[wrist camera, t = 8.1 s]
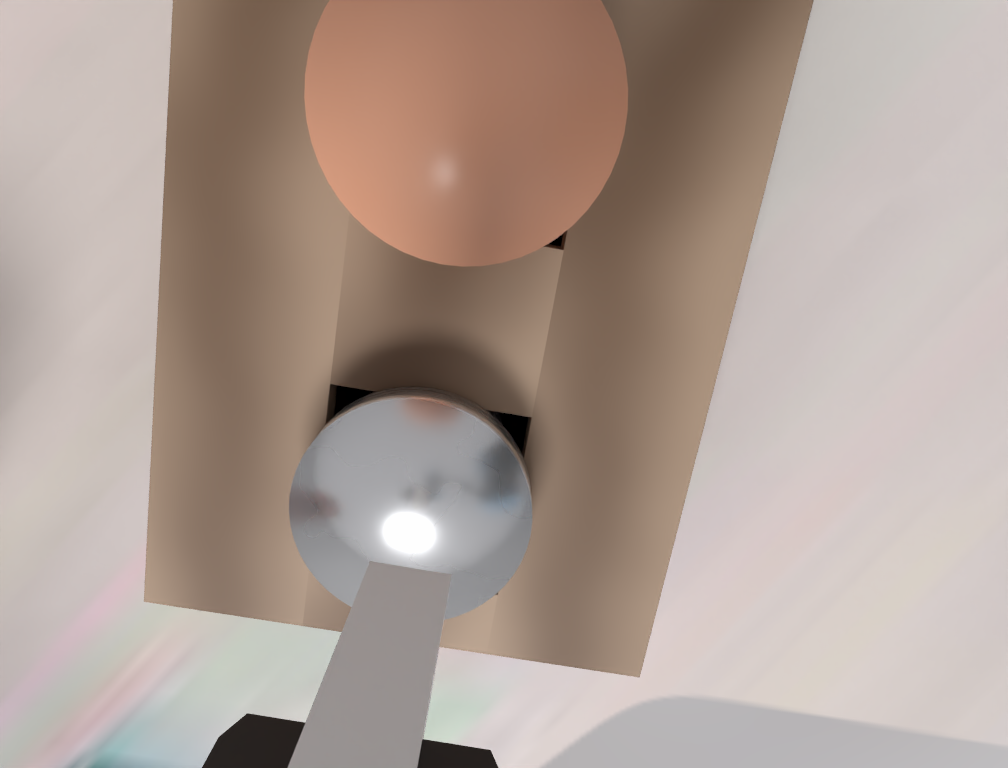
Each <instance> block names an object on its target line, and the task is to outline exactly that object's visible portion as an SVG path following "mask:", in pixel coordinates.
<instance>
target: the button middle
mask: <svg viewBox="0 0 1008 768" xmlns="http://www.w3.org/2000/svg"><path fill="white" fill-rule="evenodd" d="M304 100H305V111H306V121H307V125H308V130H309V134H310V139H311V143H312V146H313V149H314V152H315V154H316V157H317V160H318V163H319V165H320V167H321V169H322V171H323V173H324V175H325V177H326V179H327V181H328V183H329V185H330V186H331V188H332V189H333V191H334V192H335V194H336V195H337V197H338V198H339V200H340V201H341V202H342V203H343V205H344V206H345V207H346V208H347V209H348V211H349V212H350V213H351V214H352V215H353V217H355V218H356V219H357V220H358V221H359V222H360V223H361V224H362V225H363V226H364V227H365V228H366V229H368V230H369V231H370V232H371V233H373V234H374V235H376V236H377V237H378V238H380V239H381V240H383V241H384V242H385V243H387V244H389V245H391V246H393V247H394V248H396V249H398V250H400V251H402V252H404V253H406V254H409V255H412V256H414V257H417V258H419V259H422V260H426V261H430V262H434V263H438V264H442V265H452V266H461V267H466V266H486V265H492V264H498V263H503V262H507V261H510V260H514V259H517V258H520V257H523V256H525V255H527V254H530V253H532V252H534V251H536V250H538V249H540V248H542V247H544V246H545V245H547V244H549V243H550V242H552V241H553V240H555V239H557V238H558V237H559V236H560V235H562V234H563V233H564V232H565V231H567V230H568V229H569V228H570V227H572V226H573V225H574V224H575V223H576V222H577V221H578V220H579V219H580V218H581V216H582V215H583V214H584V213H585V212H586V211H587V210H588V209H589V207H590V206H591V205H592V203H593V202H594V201H595V199H596V198H597V197H598V195H599V194H600V192H601V191H602V189H603V187H604V185H605V183H606V182H607V180H608V178H609V176H610V175H611V172H612V170H613V167H614V165H615V162H616V160H617V157H618V155H619V152H620V148H621V144H622V141H623V137H624V133H625V126H626V119H627V112H628V83H627V73H626V65H625V60H624V56H623V52H622V48H621V43H620V41H619V38H618V35H617V33H616V30H615V27H614V24H613V22H612V20H611V18H610V16H609V14H608V12H607V10H606V8H605V6H604V5H603V3H602V1H601V0H329V2H328V3H327V5H326V7H325V8H324V10H323V13H322V15H321V17H320V20H319V22H318V24H317V26H316V29H315V31H314V35H313V38H312V42H311V45H310V49H309V52H308V59H307V65H306V71H305V90H304Z"/></svg>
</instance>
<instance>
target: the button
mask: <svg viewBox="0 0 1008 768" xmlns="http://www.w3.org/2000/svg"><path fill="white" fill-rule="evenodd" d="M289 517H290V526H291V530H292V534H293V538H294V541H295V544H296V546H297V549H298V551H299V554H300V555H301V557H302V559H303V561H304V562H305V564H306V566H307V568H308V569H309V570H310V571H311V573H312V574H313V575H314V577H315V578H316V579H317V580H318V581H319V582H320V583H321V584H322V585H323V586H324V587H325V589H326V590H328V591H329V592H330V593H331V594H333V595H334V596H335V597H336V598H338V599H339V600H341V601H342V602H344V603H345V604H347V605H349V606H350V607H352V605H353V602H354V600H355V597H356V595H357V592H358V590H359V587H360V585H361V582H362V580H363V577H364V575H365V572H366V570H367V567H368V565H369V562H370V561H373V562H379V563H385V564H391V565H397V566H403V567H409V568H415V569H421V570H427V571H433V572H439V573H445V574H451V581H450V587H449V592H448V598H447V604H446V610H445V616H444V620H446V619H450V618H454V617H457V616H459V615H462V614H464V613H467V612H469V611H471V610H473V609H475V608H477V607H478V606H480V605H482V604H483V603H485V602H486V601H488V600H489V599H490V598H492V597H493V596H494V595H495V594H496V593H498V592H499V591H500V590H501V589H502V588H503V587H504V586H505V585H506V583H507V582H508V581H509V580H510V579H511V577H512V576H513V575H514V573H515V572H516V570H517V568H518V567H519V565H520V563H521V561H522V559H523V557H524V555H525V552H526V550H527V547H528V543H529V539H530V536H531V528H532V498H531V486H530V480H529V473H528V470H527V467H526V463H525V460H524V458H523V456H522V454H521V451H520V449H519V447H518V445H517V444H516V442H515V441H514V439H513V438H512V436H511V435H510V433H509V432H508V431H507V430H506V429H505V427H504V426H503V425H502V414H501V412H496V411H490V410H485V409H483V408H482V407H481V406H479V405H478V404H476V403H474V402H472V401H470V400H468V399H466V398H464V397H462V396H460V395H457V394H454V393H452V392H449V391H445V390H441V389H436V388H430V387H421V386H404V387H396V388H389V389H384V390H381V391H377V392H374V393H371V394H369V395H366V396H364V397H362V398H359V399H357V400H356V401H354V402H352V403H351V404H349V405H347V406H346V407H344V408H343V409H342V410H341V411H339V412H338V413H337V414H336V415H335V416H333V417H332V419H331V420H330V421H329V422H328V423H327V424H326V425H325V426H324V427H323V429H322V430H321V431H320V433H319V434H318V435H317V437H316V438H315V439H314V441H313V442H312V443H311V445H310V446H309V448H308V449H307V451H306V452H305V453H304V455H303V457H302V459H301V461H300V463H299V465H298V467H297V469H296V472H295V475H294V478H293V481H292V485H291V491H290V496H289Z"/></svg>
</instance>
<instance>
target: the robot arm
mask: <svg viewBox="0 0 1008 768" xmlns="http://www.w3.org/2000/svg"><path fill="white" fill-rule="evenodd" d="M450 581H451V574H445V573H439V572H433V571H427V570H421V569H415V568H409V567H403V566H397V565H391V564H385V563H379V562H373V561H370V562H369V565H368V567H367V570H366V572H365V575H364V577H363V580H362V582H361V585H360V587H359V590H358V592H357V595H356V597H355V600H354V602H353V605H352V607H351V610H350V613H349V615H348V618H347V620H346V623H345V625H344V628H343V630H342V633H341V635H340V638H339V640H338V643H337V645H336V648H335V650H334V653H333V655H332V658H331V660H330V663H329V665H328V668H327V670H326V673H325V675H324V678H323V680H322V683H321V685H320V688H319V690H318V693H317V695H316V698H315V700H314V703H313V705H312V708H311V710H310V713H309V715H308V718H307V720H306V723H303V722H297V721H291V720H285V719H279V718H272V717H266V716H260V715H254V714H246V715H245V716H244V717H242V718H241V719H240V720H239V721H238V722H236V723H235V724H234V725H233V726H232V727H230V728H229V729H228V730H227V731H226V732H224V733H223V734H222V735H221V736H220V737H219V738H218V739H217V741H216V743H215V745H214V747H213V749H212V750H211V752H210V754H209V756H208V758H207V760H206V761H205V763H204V765H203V767H202V768H498V766H497V764H496V762H495V759H494V757H493V755H492V752H491V750H486V749H480V748H474V747H468V746H461V745H455V744H449V743H443V742H437V741H430V740H424V739H423V737H424V732H425V726H426V720H427V715H428V709H429V703H430V698H431V692H432V686H433V680H434V674H435V668H436V663H437V657H438V651H439V645H440V639H441V633H442V627H443V622H444V616H445V610H446V604H447V598H448V592H449V587H450Z"/></svg>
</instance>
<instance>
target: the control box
mask: <svg viewBox="0 0 1008 768" xmlns="http://www.w3.org/2000/svg"><path fill="white" fill-rule="evenodd" d="M601 1H602V3H603V5H604V6H605V8H606V10H607V12H608V14H609V16H610V18H611V20H612V22H613V24H614V27H615V30H616V33H617V35H618V38H619V41H620V43H621V48H622V52H623V56H624V60H625V65H626V73H627V83H628V112H627V119H626V126H625V133H624V137H623V141H622V144H621V148H620V152H619V155H618V157H617V160H616V162H615V165H614V167H613V170H612V172H611V175H610V176H609V178H608V180H607V182H606V183H605V185H604V187H603V189H602V191H601V192H600V194H599V195H598V197H597V198H596V199H595V201H594V202H593V203H592V205H591V206H590V207H589V209H588V210H587V211H586V212H585V213H584V214H583V215H582V216H581V218H580V219H579V220H578V221H577V222H576V223H575V224H574V225H573V226H572V227H570V228H569V229H568V230H567V231H565V232H564V233H563V238H562V244H561V246H555V245H549V244H547V245H545V246H544V247H542V248H540V249H538V250H536V251H534V252H532V253H530V254H527V255H525V256H523V257H520V258H517V259H514V260H510V261H507V262H503V263H498V264H492V265H486V266H466V267H461V266H452V265H442V264H438V263H434V262H430V261H426V260H422V259H419V258H417V257H414V256H412V255H409V254H406V253H404V252H402V251H400V250H398V249H396V248H394V247H393V246H391V245H389V244H387V243H385V242H384V241H383V240H381V239H380V238H378V237H377V236H376V235H374V234H373V233H371V232H370V231H369V230H368V229H366V228H365V227H364V226H363V225H362V224H361V223H360V222H359V221H358V220H357V219H356V218H355V217H353V215H352V214H351V213H350V212H349V211H348V209H347V208H346V207H345V206H344V205H343V203H342V202H341V201H340V200H339V198H338V197H337V195H336V194H335V192H334V191H333V189H332V188H331V186H330V185H329V183H328V181H327V179H326V177H325V175H324V173H323V171H322V169H321V167H320V165H319V163H318V160H317V157H316V154H315V152H314V149H313V146H312V143H311V139H310V134H309V130H308V125H307V121H306V111H305V100H304V90H305V71H306V65H307V59H308V52H309V49H310V45H311V42H312V38H313V35H314V31H315V29H316V26H317V24H318V22H319V20H320V17H321V15H322V13H323V10H324V8H325V7H326V5H327V3H328V2H329V0H173V12H172V33H171V53H170V74H169V95H168V115H167V136H166V157H165V177H164V198H163V219H162V239H161V260H160V281H159V301H158V322H157V343H156V363H155V384H154V405H153V425H152V446H151V467H150V487H149V508H148V529H147V549H146V570H145V591H144V602H150V603H156V604H163V605H169V606H176V607H182V608H189V609H195V610H202V611H209V612H215V613H222V614H228V615H235V616H241V617H248V618H254V619H261V620H267V621H274V622H281V623H287V624H294V625H300V626H307V627H313V628H320V629H326V630H333V631H339V632H342V630H343V628H344V625H345V623H346V620H347V618H348V615H349V613H350V610H351V607H350V606H349V605H347V604H345V603H344V602H342V601H341V600H339V599H338V598H336V597H335V596H334V595H333V594H331V593H330V592H329V591H328V590H326V589H325V587H324V586H323V585H322V584H321V583H320V582H319V581H318V580H317V579H316V578H315V577H314V575H313V574H312V573H311V571H310V570H309V569H308V568H307V566H306V564H305V562H304V561H303V559H302V557H301V555H300V554H299V551H298V549H297V546H296V544H295V541H294V538H293V534H292V530H291V526H290V517H289V496H290V491H291V485H292V481H293V478H294V475H295V472H296V469H297V467H298V465H299V463H300V461H301V459H302V457H303V455H304V453H305V452H306V451H307V449H308V448H309V446H310V445H311V443H312V442H313V441H314V439H315V438H316V437H317V435H318V434H319V433H320V431H321V430H322V429H323V427H324V426H325V425H326V424H327V423H328V422H329V421H330V420H331V419H332V417H333V416H334V410H335V401H336V393H337V385H339V386H345V387H351V388H357V389H363V390H369V391H376V392H377V391H381V390H384V389H389V388H396V387H404V386H421V387H430V388H436V389H441V390H445V391H449V392H452V393H454V394H457V395H460V396H462V397H464V398H466V399H468V400H470V401H472V402H474V403H476V404H478V405H479V406H481V407H482V408H483V409H485V410H490V411H496V412H502V413H508V414H514V415H520V416H526V417H528V423H527V428H526V433H525V438H524V444H523V449H522V456H523V458H524V460H525V463H526V467H527V470H528V473H529V480H530V486H531V498H532V528H531V536H530V539H529V543H528V547H527V550H526V552H525V555H524V557H523V559H522V561H521V563H520V565H519V567H518V568H517V570H516V572H515V573H514V575H513V576H512V577H511V579H510V580H509V581H508V582H507V583H506V585H505V586H504V587H503V588H502V589H501V590H500V591H499V592H498V593H496V594H495V595H494V596H493V597H492V598H490V599H489V600H488V601H486V602H485V603H483V604H482V605H480V606H478V607H477V608H475V609H473V610H471V611H469V612H467V613H464V614H462V615H459V616H457V617H454V618H450V619H446V620H444V622H443V627H442V633H441V639H440V645H439V647H444V648H451V649H457V650H464V651H470V652H477V653H483V654H490V655H497V656H503V657H510V658H516V659H523V660H529V661H536V662H542V663H549V664H555V665H562V666H569V667H575V668H582V669H588V670H595V671H601V672H608V673H614V674H621V675H627V676H634V677H640V674H641V670H642V666H643V662H644V658H645V654H646V650H647V646H648V642H649V638H650V635H651V631H652V627H653V623H654V619H655V615H656V611H657V607H658V603H659V600H660V596H661V592H662V588H663V584H664V580H665V576H666V572H667V568H668V565H669V561H670V557H671V553H672V549H673V545H674V541H675V537H676V533H677V529H678V526H679V522H680V518H681V514H682V510H683V506H684V502H685V498H686V494H687V491H688V487H689V483H690V479H691V475H692V471H693V467H694V463H695V459H696V456H697V452H698V448H699V444H700V440H701V436H702V432H703V428H704V424H705V421H706V417H707V413H708V409H709V405H710V401H711V397H712V393H713V389H714V385H715V382H716V378H717V374H718V370H719V366H720V362H721V358H722V354H723V350H724V347H725V343H726V339H727V335H728V331H729V327H730V323H731V319H732V315H733V312H734V308H735V304H736V300H737V296H738V292H739V288H740V284H741V280H742V276H743V273H744V269H745V265H746V261H747V257H748V253H749V249H750V245H751V241H752V238H753V234H754V230H755V226H756V222H757V218H758V214H759V210H760V206H761V203H762V199H763V195H764V191H765V187H766V183H767V179H768V175H769V171H770V168H771V164H772V160H773V156H774V152H775V148H776V144H777V140H778V136H779V132H780V129H781V125H782V121H783V117H784V113H785V109H786V105H787V101H788V97H789V94H790V90H791V86H792V82H793V78H794V74H795V70H796V66H797V62H798V59H799V55H800V51H801V47H802V43H803V39H804V35H805V31H806V27H807V23H808V20H809V16H810V12H811V8H812V4H813V0H601Z"/></svg>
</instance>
